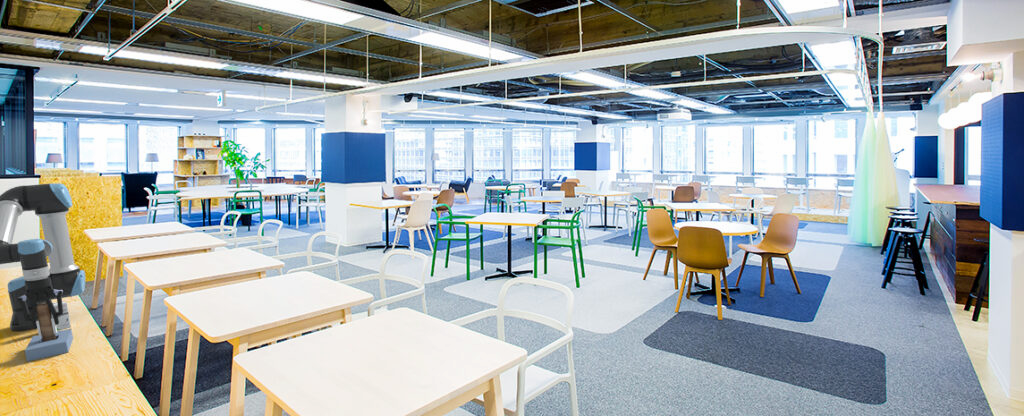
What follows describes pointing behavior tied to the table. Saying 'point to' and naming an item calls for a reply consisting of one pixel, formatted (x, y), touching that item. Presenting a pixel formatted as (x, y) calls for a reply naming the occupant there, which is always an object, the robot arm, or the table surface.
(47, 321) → the peg
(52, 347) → the socket block
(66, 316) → the ink box
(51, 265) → the robot arm
